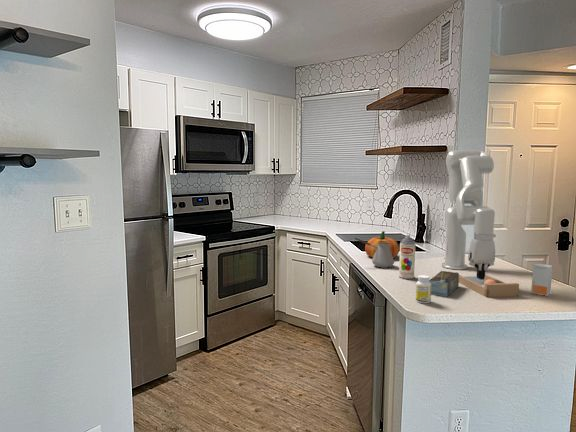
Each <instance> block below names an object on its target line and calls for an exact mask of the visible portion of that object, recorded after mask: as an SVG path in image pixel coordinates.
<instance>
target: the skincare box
mask: <svg viewBox="0 0 576 432" xmlns="http://www.w3.org/2000/svg"><path fill="white" fill-rule="evenodd" d="M553 267H554V266H553V265H550V264H545V263H542V264H541V263H533V266H532V268H533V269H532V279H531V290H530V293H531V294H534V295H539V296H543V295H545V296H544V297H549V296H550V295H551V290H552V280H553V279H552V276H553ZM549 294H550V295H549Z"/></svg>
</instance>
